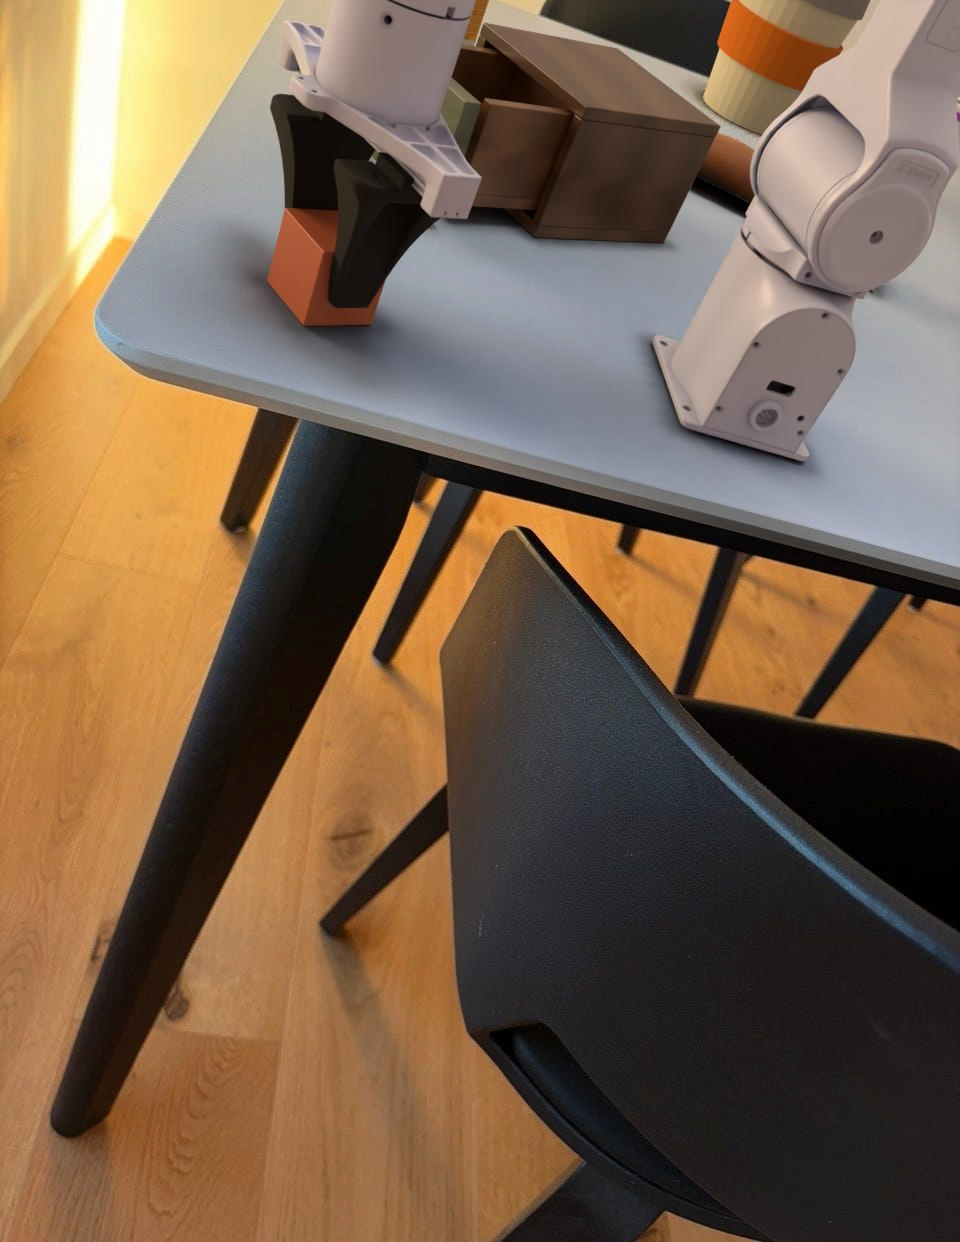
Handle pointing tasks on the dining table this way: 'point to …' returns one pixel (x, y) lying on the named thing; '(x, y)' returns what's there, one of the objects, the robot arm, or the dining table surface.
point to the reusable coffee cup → (774, 54)
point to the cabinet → (608, 140)
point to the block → (311, 269)
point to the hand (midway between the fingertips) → (326, 278)
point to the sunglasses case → (729, 167)
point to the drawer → (504, 127)
